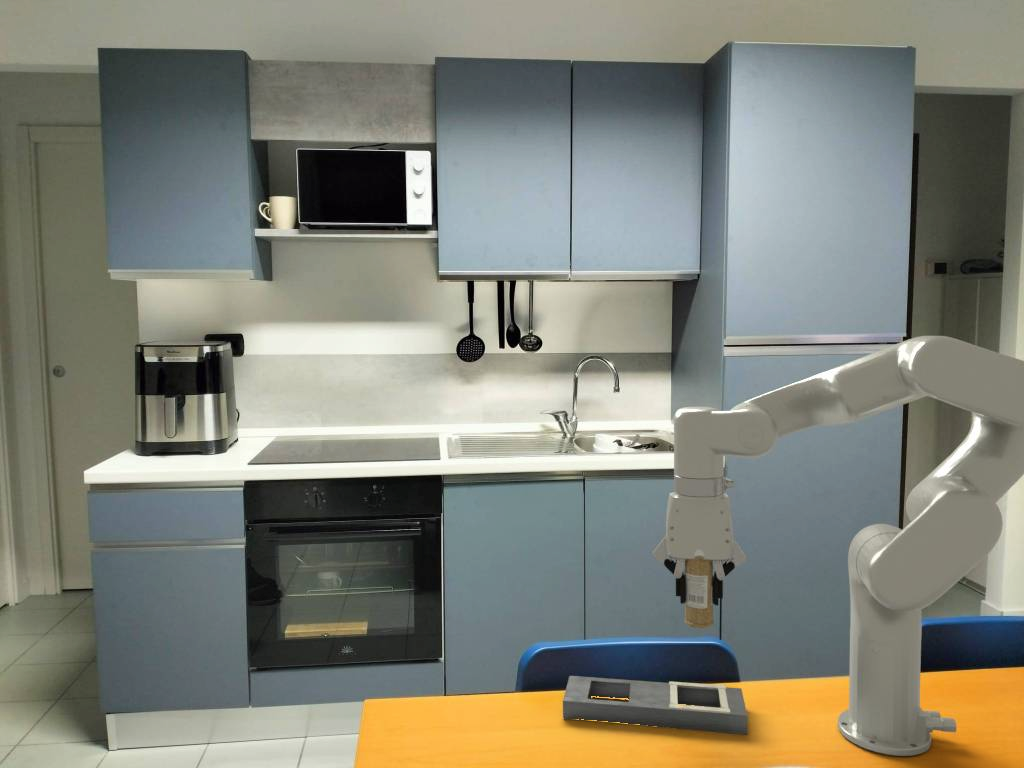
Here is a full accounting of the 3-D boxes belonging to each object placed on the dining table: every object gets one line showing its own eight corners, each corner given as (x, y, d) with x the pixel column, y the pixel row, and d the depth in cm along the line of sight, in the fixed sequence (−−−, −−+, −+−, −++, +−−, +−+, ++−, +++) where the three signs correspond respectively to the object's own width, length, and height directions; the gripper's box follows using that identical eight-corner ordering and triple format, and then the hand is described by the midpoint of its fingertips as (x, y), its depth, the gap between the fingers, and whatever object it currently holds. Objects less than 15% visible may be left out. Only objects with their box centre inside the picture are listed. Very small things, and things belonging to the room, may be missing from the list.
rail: (741, 706, 124) (741, 686, 123) (747, 734, 115) (747, 713, 114) (569, 692, 129) (569, 673, 129) (563, 719, 120) (562, 698, 120)
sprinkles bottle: (719, 624, 119) (719, 539, 119) (703, 632, 116) (703, 545, 115) (694, 616, 123) (694, 534, 122) (678, 624, 120) (677, 540, 119)
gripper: (752, 483, 120) (752, 596, 121) (644, 480, 124) (644, 591, 125) (758, 492, 113) (757, 613, 114) (643, 490, 116) (643, 607, 117)
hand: (698, 600), depth 119 cm, fingers closed on sprinkles bottle, 4 cm apart
